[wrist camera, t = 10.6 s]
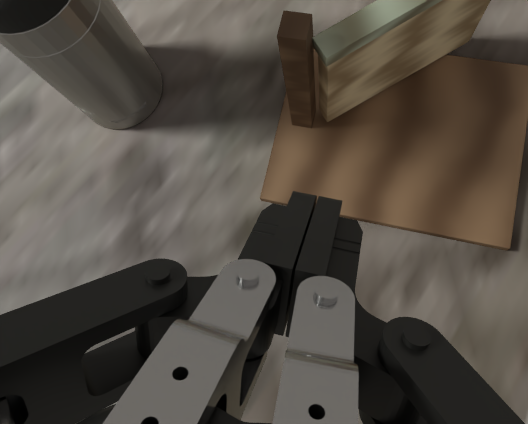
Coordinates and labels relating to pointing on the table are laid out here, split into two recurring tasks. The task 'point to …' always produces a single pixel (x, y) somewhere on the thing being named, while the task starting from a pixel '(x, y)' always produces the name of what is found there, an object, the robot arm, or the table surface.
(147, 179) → the table surface
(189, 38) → the table surface
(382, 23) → the gate leaf
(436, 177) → the gate base
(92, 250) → the table surface
